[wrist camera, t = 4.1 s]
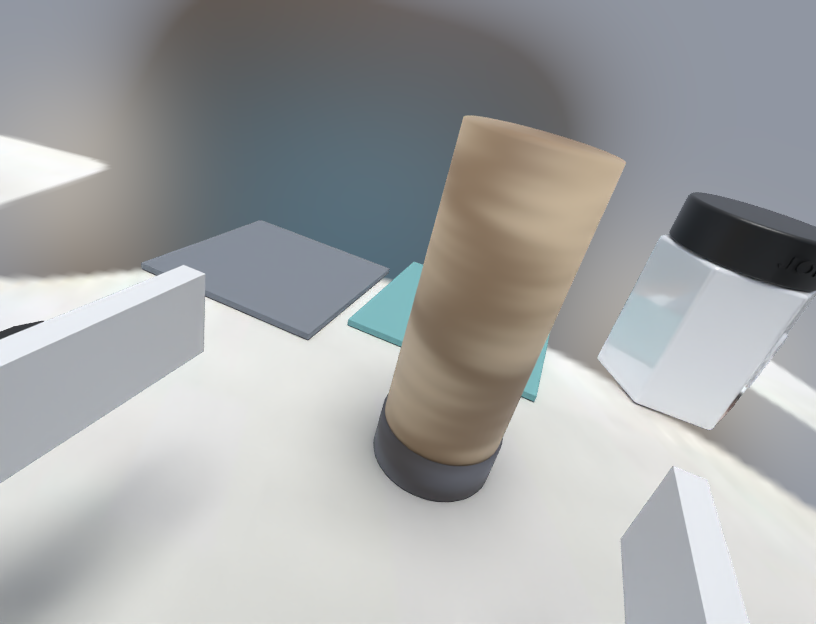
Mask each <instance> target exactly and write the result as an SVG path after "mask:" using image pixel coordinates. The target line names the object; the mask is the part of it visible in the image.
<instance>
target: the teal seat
mask: <svg viewBox="0 0 816 624" xmlns="http://www.w3.org/2000/svg"><path fill="white" fill-rule="evenodd" d="M422 269H423V265H422V264H419V263H416V262H413V263H412V264H411V265H410V266H409V267H407V268H406V269H405V270H404V271H403V272H402V273H401V274H399V275H398V276H397V277H396V278H395V279H394V280H393V281H391V282H390V283H389V284H388V285H387V286H386V287H385V288H384V289H382V290H381V291H380V292H379V293H378V294H377V295H376V296H374V297H373V298H372V299H371V300H370V301H369V302H368V303H367V304H365V305H364V306H363V307H362V308H361V309H360V310H359V311H357V312H356V313H355V314H354V315H353V316H352V317H351V318H349V320H348V325H349V326H352V327H354V328H357V329H359V330H362V331H364V332H366V333H369V334H371V335H374V336H376V337H379V338H381V339H383V340H386V341H388V342H391V343H393V344H396V345H398V346H400V347H401V346H402V342H403V339H404V335H405V331H406V328H407V324H408V320H409V316H410V313H411V309H412V305H413V302H414V298H415V294H416V291H417V287H418V283H419V280H420V276H421V272H422ZM549 335H550V333H549ZM549 335H548V338H547V340H546V342H545V344H544V347H543V349H542V351H541V353H540V355H539V358H538V360H537V362H536V364H535V367H534V369H533V371H532V373H531V375H530V378H529V380H528V382H527V384H526V387H525V389H524V391H523V393H522V395H521V396H522V397H524V398H526V399H529V400H531V401H535V399H536V396H537V392H538V387H539V382H540V377H541V373H542V368H543V363H544V358H545V354H546V349H547V344H548V339H549Z"/></svg>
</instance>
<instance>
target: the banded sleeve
mask: <svg viewBox="0 0 816 624" xmlns="http://www.w3.org/2000/svg"><path fill="white" fill-rule="evenodd" d="M625 164H626V162H625V161H624V160H623V159H621V158H619V157H617V156H615V155H612V154H610V153H608V152H605V151H603V150H600V149H598V148H595V147H592V146H589V145H587V144H584V143H581V142H578V141H574V140H571V139H568V138H565V137H562V136H558V135H555V134H552V133H548V132H545V131H541V130H537V129H534V128H530V127H526V126H522V125H518V124H514V123H510V122H505V121H501V120H496V119H491V118H486V117H479V116H464V117H463V121H462V125H461V129H460V132H459V136H458V140H457V143H456V147H455V150H454V154H453V158H452V162H451V165H450V169H449V173H448V176H447V180H446V184H445V187H444V191H443V195H442V199H441V203H440V206H439V210H438V213H437V217H436V221H435V224H434V228H433V232H432V235H431V239H430V243H429V246H428V250H427V254H426V257H425V261H424V265H423V269H422V272H421V276H420V280H419V283H418V287H417V291H416V294H415V298H414V302H413V305H412V309H411V313H410V316H409V320H408V324H407V328H406V331H405V335H404V339H403V342H402V346H401V350H400V353H399V357H398V361H397V364H396V368H395V372H394V375H393V379H392V383H391V387H390V390H389V394H388V395H387V397H386V398H385V401H384V404H383V407H382V411H381V415H380V419H379V422H378V426H377V430H376V433H375V437H374V451H375V456H376V458H377V461H378V463H379V465H380V467H381V468H382V469H383V471H384V472H385V474H386V475H387V476H388V477H389V478H390V479H391V480H392V481H393V482H394V483H396V484H397V485H398V486H400V487H401V488H403V489H404V490H406V491H408V492H409V493H411V494H414V495H416V496H418V497H421V498H424V499H428V500H433V501H440V502H452V501H458V500H462V499H465V498H468V497H470V496H472V495H473V494H475V493H476V492H478V491H479V490H480V489H481V487H482V486H483V485H484V483H485V481H486V479H487V477H488V475H489V472H490V470H491V468H492V466H493V464H494V461H495V459H496V457H497V455H498V453H499V450H500V448H501V445H502V440H503V435H504V433H505V431H506V429H507V427H508V424H509V422H510V420H511V418H512V415H513V413H514V411H515V409H516V407H517V404H518V402H519V400H520V398H521V395H522V393H523V391H524V389H525V387H526V384H527V382H528V380H529V378H530V375H531V373H532V371H533V369H534V367H535V364H536V362H537V360H538V358H539V355H540V353H541V351H542V349H543V347H544V344H545V342H546V340H547V338H548V335H549V333H550V331H551V329H552V327H553V324H554V322H555V320H556V318H557V315H558V313H559V311H560V309H561V306H562V304H563V302H564V300H565V298H566V295H567V293H568V291H569V289H570V287H571V284H572V282H573V280H574V278H575V275H576V273H577V271H578V269H579V267H580V264H581V262H582V260H583V257H584V255H585V253H586V251H587V249H588V246H589V244H590V242H591V240H592V237H593V235H594V233H595V231H596V229H597V226H598V224H599V222H600V220H601V217H602V215H603V213H604V211H605V209H606V206H607V204H608V202H609V200H610V198H611V195H612V193H613V191H614V189H615V186H616V184H617V182H618V180H619V177H620V175H621V173H622V171H623V169H624V166H625Z"/></svg>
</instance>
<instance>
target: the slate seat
mask: <svg viewBox="0 0 816 624" xmlns="http://www.w3.org/2000/svg"><path fill="white" fill-rule="evenodd" d="M141 265H142V269H144V270H146V271H148V272H151V273H153V274H155V275H160V274H162V273H165V272H167V271H170V270H172V269H175V268H177V267H180V266H182V265H185V266H188V267H190V268H193V269H195V270H197V271H200V272H202V273H205V296H207V297H209V298H211V299H214V300H216V301H218V302H221V303H223V304H225V305H228V306H230V307H232V308H235V309H237V310H239V311H242V312H244V313H246V314H249V315H251V316H253V317H256V318H258V319H260V320H263V321H265V322H267V323H270V324H272V325H274V326H277V327H279V328H281V329H284V330H286V331H288V332H291V333H293V334H295V335H298V336H300V337H302V338H305V339H307V340H309V339H310V338H311V337H312V336H313V335H315V334H316V333H317V332H318V331H319V330H321V329H322V328H323V327H324V326H325V325H327V324H328V323H329V322H330V321H331V320H333V319H334V318H335V317H336V316H338V315H339V314H340V313H341V312H342V311H344V310H345V309H346V308H347V307H348V306H350V305H351V304H352V303H353V302H354V301H356V300H357V299H358V298H359V297H360V296H362V295H363V294H364V293H365V292H366V291H368V290H369V289H370V288H371V287H372V286H374V285H375V284H376V283H377V282H379V281H380V280H381V279H382V278H383V277H385V276H386V275H387V274H388V273H389V268H386V267H384V266H381V265H379V264H376V263H373V262H371V261H368V260H365V259H362V258H360V257H357V256H355V255H352V254H349V253H347V252H344V251H341V250H339V249H336V248H333V247H331V246H328V245H325V244H323V243H320V242H317V241H315V240H312V239H309V238H307V237H304V236H301V235H299V234H296V233H293V232H291V231H288V230H286V229H283V228H280V227H278V226H275V225H272V224H270V223H267V222H264V221H262V220H259V221H257V222H254V223H252V224H248V225H246V226H243V227H240V228H237V229H234V230H232V231H229V232H226V233H223V234H220V235H218V236H215V237H212V238H209V239H206V240H204V241H201V242H198V243H195V244H193V245H190V246H187V247H184V248H181V249H179V250H176V251H173V252H170V253H167V254H165V255H162V256H159V257H156V258H153V259H151V260H148V261H145V262H142V263H141Z"/></svg>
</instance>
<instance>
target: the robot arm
mask: <svg viewBox="0 0 816 624" xmlns="http://www.w3.org/2000/svg"><path fill="white" fill-rule="evenodd" d="M204 318H205V273H202V272H200V271H197V270H195V269H193V268H190V267H188V266H185V265H182V266H180V267H177V268H175V269H172V270H170V271H167V272H165V273H162V274H160V275H158V276H155V277H153V278H150V279H148V280H145V281H143V282H140V283H138V284H135V285H133V286H131V287H128V288H126V289H123V290H121V291H118V292H116V293H113V294H111V295H108V296H106V297H104V298H101V299H99V300H96V301H94V302H91V303H89V304H86V305H84V306H81V307H79V308H76V309H74V310H72V311H69V312H67V313H64V314H62V315H59V316H57V317H54V318H52V319H49V320H47V321H39V322H34V323H29V324H24V325H19V326H14V327H11V328H9V329H6V330H4V331H1V332H0V483H1V482H3V481H4V480H6V479H8V478H9V477H11V476H12V475H14V474H15V473H17V472H18V471H20V470H21V469H23V468H25V467H26V466H28V465H29V464H31V463H32V462H34V461H35V460H37V459H38V458H40V457H41V456H43V455H45V454H46V453H48V452H49V451H51V450H52V449H54V448H55V447H57V446H58V445H60V444H62V443H63V442H65V441H66V440H68V439H69V438H71V437H72V436H74V435H75V434H77V433H78V432H80V431H82V430H83V429H85V428H86V427H88V426H89V425H91V424H92V423H94V422H95V421H97V420H99V419H100V418H102V417H103V416H105V415H106V414H108V413H109V412H111V411H112V410H114V409H115V408H117V407H119V406H120V405H122V404H123V403H125V402H126V401H128V400H129V399H131V398H132V397H134V396H136V395H137V394H139V393H140V392H142V391H143V390H145V389H146V388H148V387H149V386H151V385H152V384H154V383H156V382H157V381H159V380H160V379H162V378H163V377H165V376H166V375H168V374H169V373H171V372H173V371H174V370H176V369H177V368H179V367H180V366H182V365H183V364H185V363H186V362H188V361H189V360H191V359H193V358H194V357H196V356H197V355H199V354H200V353H202V352H203V351H204ZM621 556H622V573H623V590H624V607H625V624H750V622H749V618H748V615H747V612H746V608H745V605H744V602H743V598H742V595H741V591H740V588H739V585H738V581H737V578H736V574H735V571H734V568H733V564H732V561H731V558H730V554H729V551H728V547H727V544H726V541H725V537H724V534H723V530H722V527H721V524H720V520H719V517H718V514H717V510H716V507H715V503H714V500H713V497H712V493H711V490H710V487H709V483H708V480H707V479H704V478H702V477H699V476H697V475H695V474H692V473H690V472H687V471H685V470H682V469H680V468H677V467H675V466H673V467H672V468H671V469H670V471H669V472H668V474H667V475H666V476H665V478H664V479H663V481H662V482H661V483H660V485H659V486H658V488H657V489H656V490H655V492H654V493H653V495H652V496H651V497H650V499H649V500H648V501H647V503H646V504H645V506H644V507H643V508H642V510H641V511H640V513H639V514H638V515H637V517H636V518H635V520H634V521H633V522H632V524H631V525H630V527H629V528H628V529H627V531H626V532H625V534H624V535H623V536H622V538H621Z"/></svg>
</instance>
